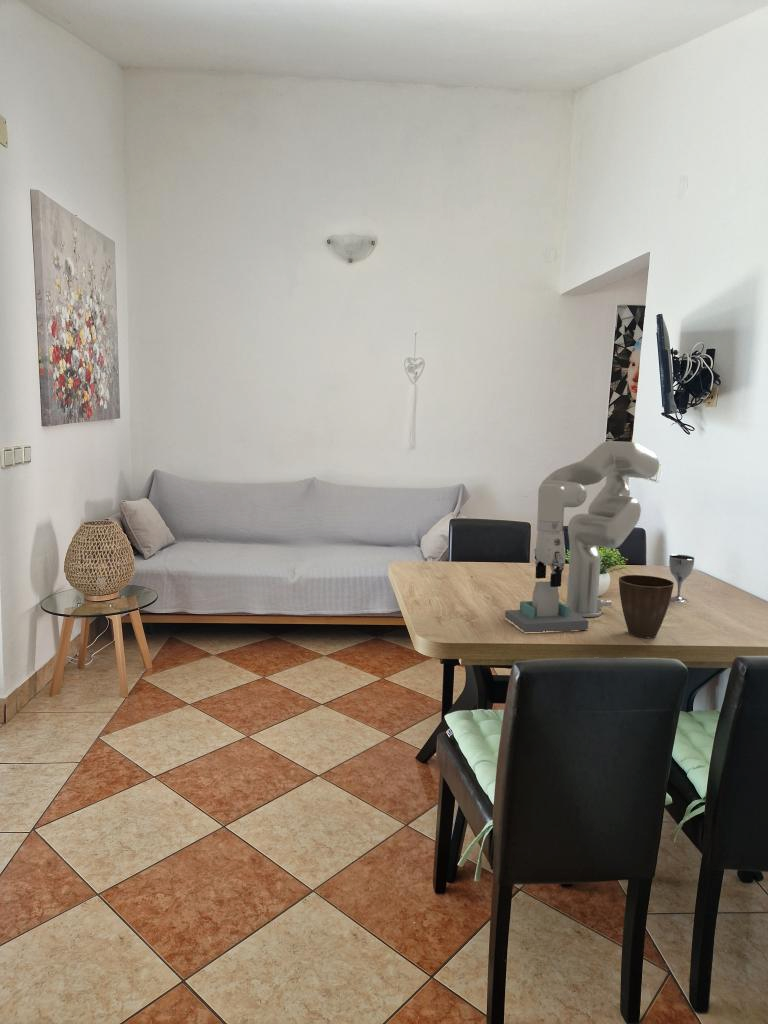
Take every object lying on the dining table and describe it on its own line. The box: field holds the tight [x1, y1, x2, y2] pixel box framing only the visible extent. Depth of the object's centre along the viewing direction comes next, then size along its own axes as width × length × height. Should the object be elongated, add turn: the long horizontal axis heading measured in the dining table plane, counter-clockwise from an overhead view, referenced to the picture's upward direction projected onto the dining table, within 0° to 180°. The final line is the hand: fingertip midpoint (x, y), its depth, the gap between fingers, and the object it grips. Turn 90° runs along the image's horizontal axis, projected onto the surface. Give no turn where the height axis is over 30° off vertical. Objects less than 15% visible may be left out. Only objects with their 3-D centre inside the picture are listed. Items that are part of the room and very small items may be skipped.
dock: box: [504, 600, 589, 632], centre depth 217 cm, size 20×14×6 cm
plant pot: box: [618, 574, 675, 638], centre depth 209 cm, size 15×15×16 cm
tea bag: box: [531, 581, 560, 617], centre depth 217 cm, size 4×7×10 cm, turn 103°
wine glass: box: [668, 554, 695, 603], centre depth 250 cm, size 8×8×15 cm
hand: (547, 582), depth 217 cm, fingers open, 9 cm apart
